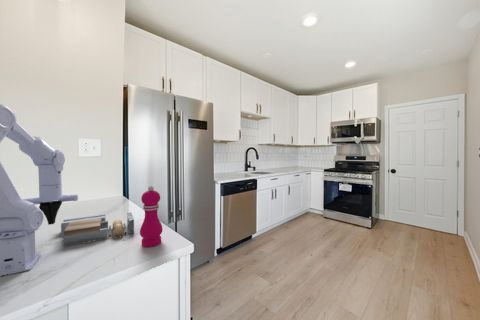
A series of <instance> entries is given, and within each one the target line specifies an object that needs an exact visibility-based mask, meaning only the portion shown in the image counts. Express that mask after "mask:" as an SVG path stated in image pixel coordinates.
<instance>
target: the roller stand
mask: <svg viewBox="0 0 480 320" xmlns="http://www.w3.org/2000/svg"><path fill="white" fill-rule="evenodd" d="M95 218H101V222H102V221H107V220H106V214H104V213H103V214H98V215H91V216H84V217H76V218H67V219H63V221H62V222H61V224H60V235H61V236H63V235H64V230H65V229H66V227H67V225H68V224H69V222H74V221H81V220H88V219H95Z"/></svg>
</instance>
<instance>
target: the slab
mask: <svg viewBox="0 0 480 320" xmlns="http://www.w3.org/2000/svg"><path fill="white" fill-rule="evenodd" d="M100 227H101V218H95V219H88V220H81V221H74V222H69V224H68V225H67V227H66V229H65V230H64V236H68V235H74V234H80V233H86V232H92V231H98V230H100Z"/></svg>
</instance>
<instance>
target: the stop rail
mask: <svg viewBox="0 0 480 320" xmlns="http://www.w3.org/2000/svg"><path fill="white" fill-rule="evenodd" d="M126 220H127V222H126V226H127V229H128V230H129V231H128V230H127V231H128V235H129V234H131V235H134V234H135V219H134V216H133V214H132V212H126Z"/></svg>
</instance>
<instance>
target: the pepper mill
mask: <svg viewBox="0 0 480 320" xmlns="http://www.w3.org/2000/svg"><path fill="white" fill-rule="evenodd" d="M147 189H148V190H147V191H145V192H143V193H142V195H141V199H140V200H141V202H142V204H143V205H142V206H143V211H144V219H143V222H142V224H141V225H140V226H141V227H140V229H139V235H140V237H141V238H142V239H141V246H142V247H144V248H152V247H156V246H158V245H160V244H161V243H162V236H161V235H162V233H163V225H162V222H161V221H160V219H159V216H158V209H159V208H160V205H159V202H160V201H161V194H160V193H159V192H158V191H157V190H154V186H152V185H150V186H148V188H147Z"/></svg>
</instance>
